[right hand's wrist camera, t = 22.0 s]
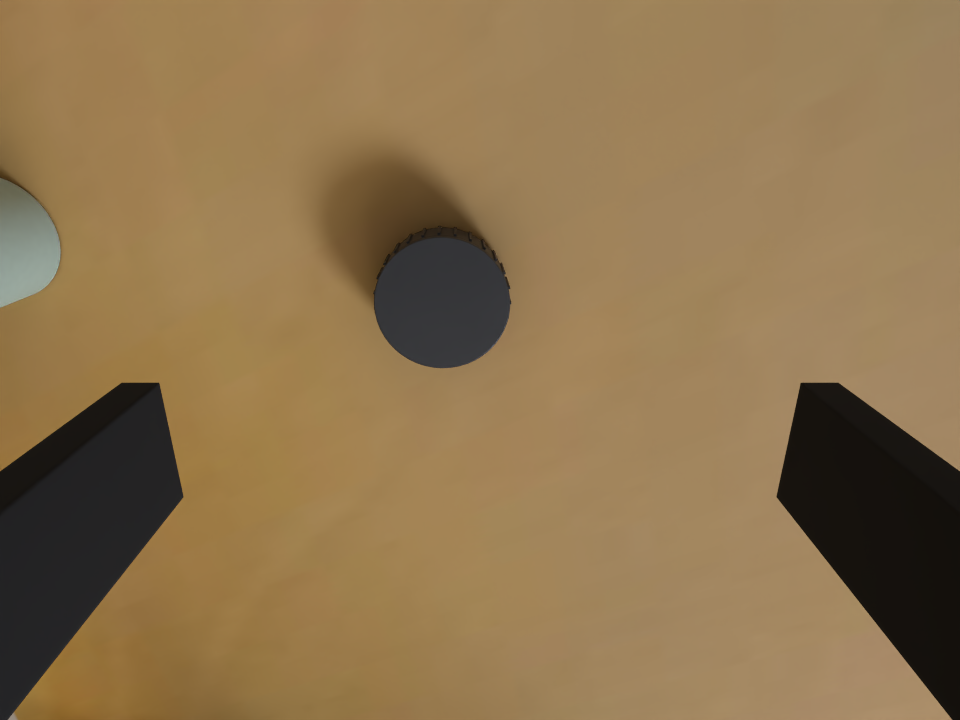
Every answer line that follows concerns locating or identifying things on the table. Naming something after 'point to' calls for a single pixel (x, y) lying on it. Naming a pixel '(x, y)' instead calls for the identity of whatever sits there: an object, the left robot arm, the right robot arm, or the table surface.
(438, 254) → the lid
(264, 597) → the table surface
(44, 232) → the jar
